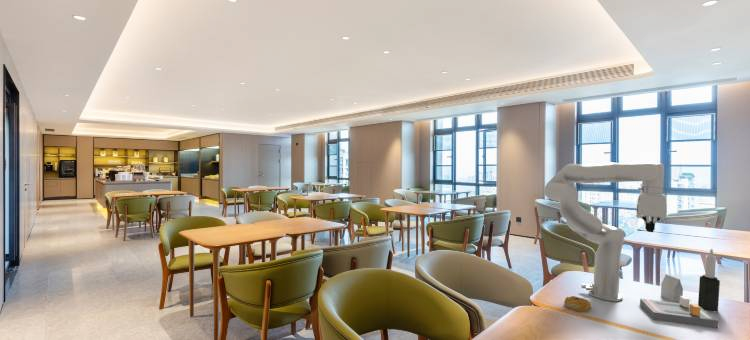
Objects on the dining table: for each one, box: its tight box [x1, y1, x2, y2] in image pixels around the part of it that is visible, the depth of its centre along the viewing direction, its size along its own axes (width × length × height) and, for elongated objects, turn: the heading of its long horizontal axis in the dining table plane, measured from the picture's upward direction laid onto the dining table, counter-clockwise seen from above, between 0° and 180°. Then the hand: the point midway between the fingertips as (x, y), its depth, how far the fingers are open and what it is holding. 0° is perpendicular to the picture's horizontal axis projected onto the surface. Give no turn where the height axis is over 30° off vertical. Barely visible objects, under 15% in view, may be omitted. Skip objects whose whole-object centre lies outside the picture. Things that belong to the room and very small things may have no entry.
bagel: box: [563, 295, 592, 313], centre depth 151 cm, size 10×11×5 cm
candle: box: [697, 248, 721, 313], centre depth 151 cm, size 5×5×25 cm
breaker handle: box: [689, 303, 700, 316], centre depth 139 cm, size 2×3×3 cm, turn 162°
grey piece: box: [660, 273, 684, 303], centre depth 161 cm, size 4×7×10 cm, turn 5°
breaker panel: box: [639, 295, 719, 330], centre depth 144 cm, size 20×14×7 cm
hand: (649, 231), depth 164 cm, fingers closed
